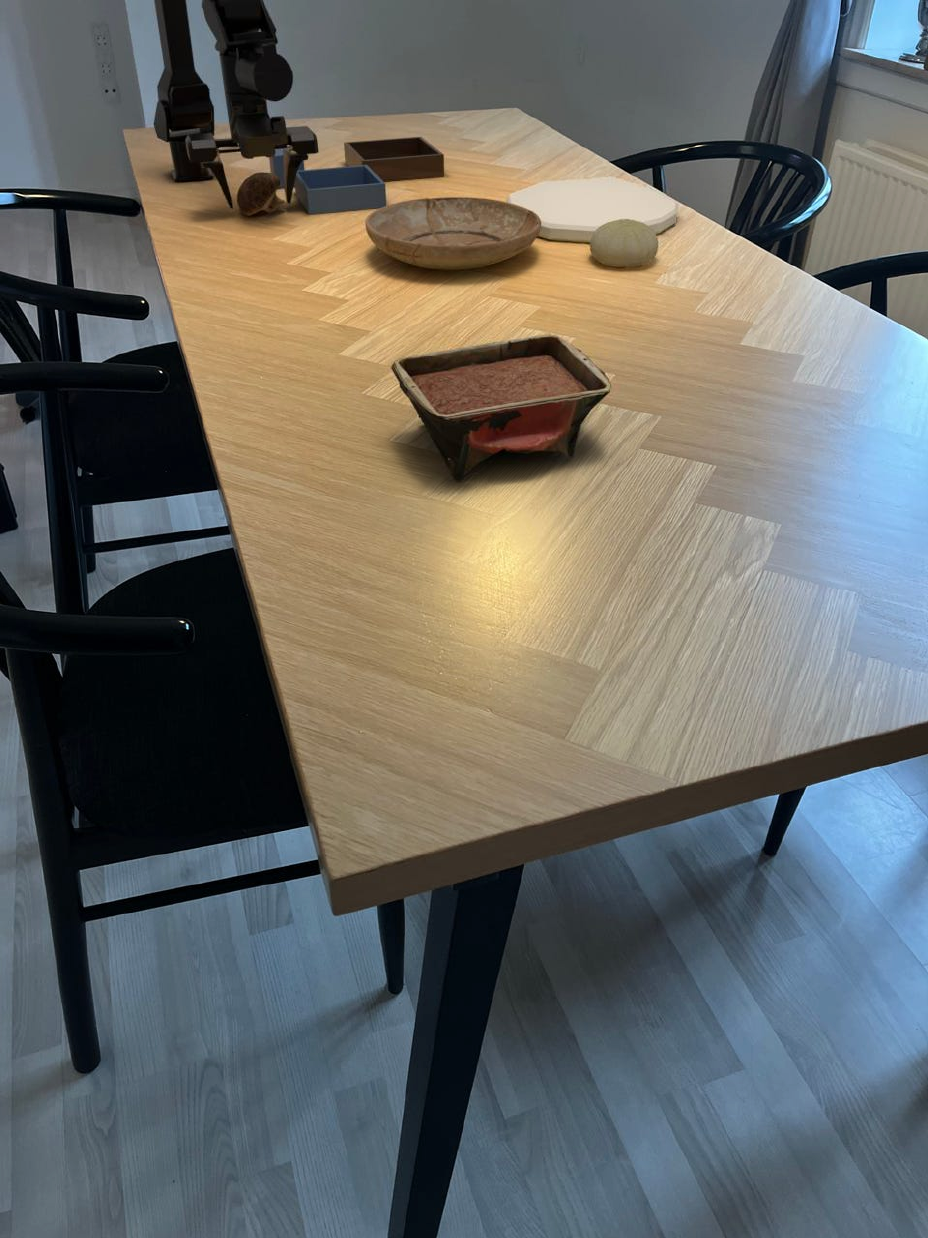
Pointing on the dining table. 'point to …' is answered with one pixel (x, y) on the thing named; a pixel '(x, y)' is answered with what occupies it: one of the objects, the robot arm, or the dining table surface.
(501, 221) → the ceramic bowl
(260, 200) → the mushroom
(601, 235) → the sea urchin shell
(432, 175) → the walnut bin
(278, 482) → the dining table surface
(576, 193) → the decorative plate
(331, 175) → the blue bin
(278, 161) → the blue block
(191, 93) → the robot arm
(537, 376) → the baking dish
